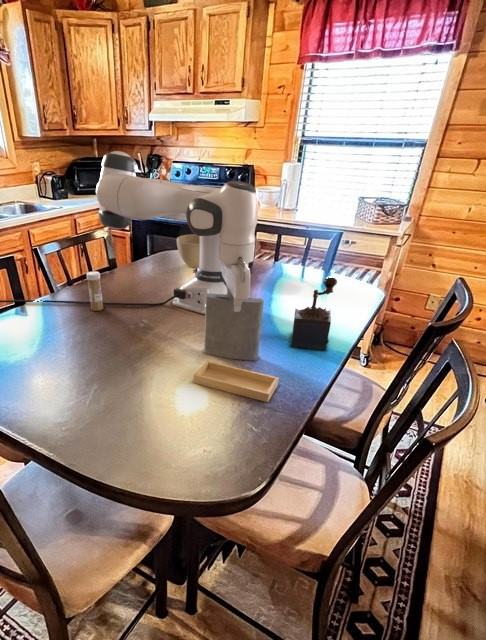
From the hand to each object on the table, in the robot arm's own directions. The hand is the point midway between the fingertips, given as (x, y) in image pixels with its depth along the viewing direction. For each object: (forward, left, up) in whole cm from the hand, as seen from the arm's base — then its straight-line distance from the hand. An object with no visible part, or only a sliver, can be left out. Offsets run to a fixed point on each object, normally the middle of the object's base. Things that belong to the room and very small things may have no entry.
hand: (233, 304), depth 113 cm
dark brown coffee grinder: (+18, +22, -16) cm, 32 cm away
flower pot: (-48, +77, -16) cm, 92 cm away
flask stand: (+7, -14, -16) cm, 22 cm away
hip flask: (0, 0, -16) cm, 16 cm away
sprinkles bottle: (-57, +12, -16) cm, 60 cm away
